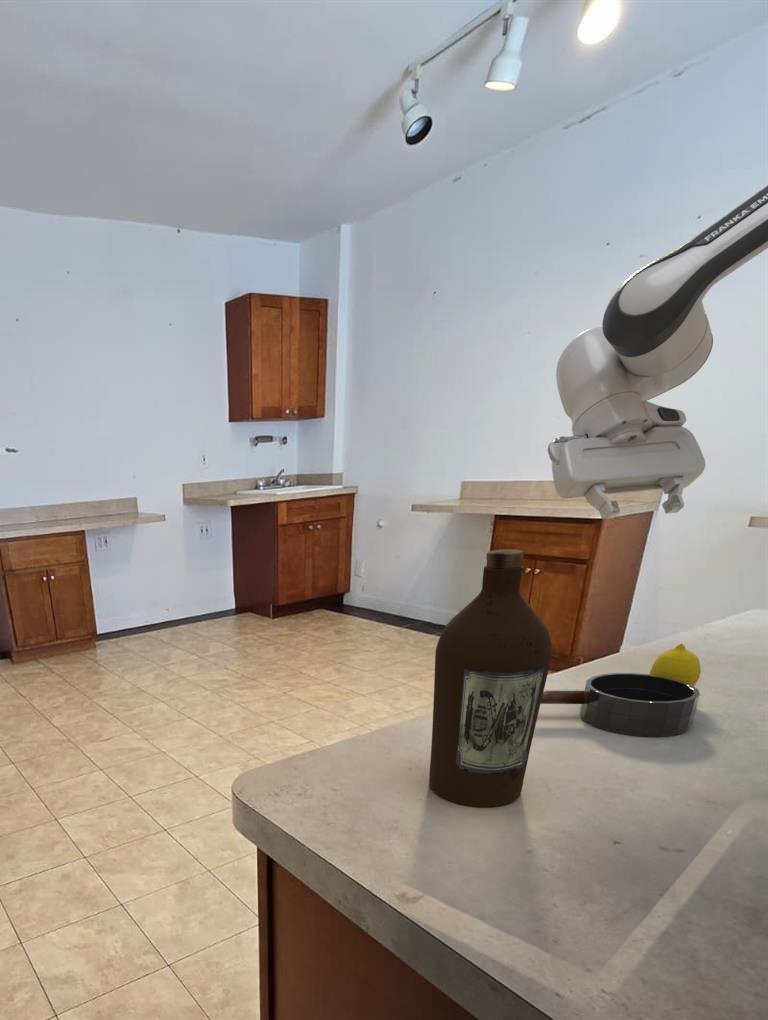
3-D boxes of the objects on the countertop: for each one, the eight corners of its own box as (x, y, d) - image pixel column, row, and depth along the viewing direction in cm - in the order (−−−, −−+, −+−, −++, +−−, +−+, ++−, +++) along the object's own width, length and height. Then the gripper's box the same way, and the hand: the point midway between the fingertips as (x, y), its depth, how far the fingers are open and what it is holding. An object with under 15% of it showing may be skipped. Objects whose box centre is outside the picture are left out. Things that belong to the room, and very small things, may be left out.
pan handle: (586, 701, 85) (589, 688, 85) (591, 706, 84) (593, 693, 83) (499, 700, 88) (501, 688, 87) (502, 705, 86) (504, 692, 86)
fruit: (670, 708, 87) (685, 651, 83) (634, 696, 91) (647, 642, 88) (702, 702, 88) (718, 645, 84) (664, 691, 93) (678, 636, 89)
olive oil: (414, 767, 76) (433, 548, 65) (507, 765, 75) (542, 541, 64) (436, 811, 66) (462, 562, 56) (543, 810, 65) (591, 555, 54)
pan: (666, 704, 88) (674, 672, 86) (708, 738, 77) (719, 703, 76) (568, 703, 91) (574, 672, 89) (596, 736, 80) (603, 702, 78)
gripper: (557, 421, 89) (587, 504, 85) (695, 410, 90) (730, 491, 86) (532, 455, 95) (559, 534, 91) (662, 444, 96) (693, 521, 92)
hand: (643, 513), depth 88 cm, fingers open, 8 cm apart
